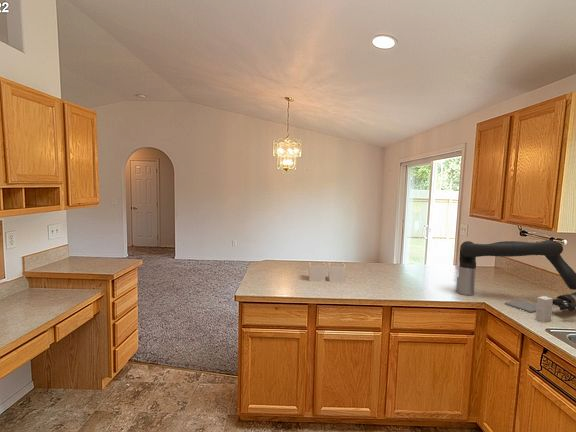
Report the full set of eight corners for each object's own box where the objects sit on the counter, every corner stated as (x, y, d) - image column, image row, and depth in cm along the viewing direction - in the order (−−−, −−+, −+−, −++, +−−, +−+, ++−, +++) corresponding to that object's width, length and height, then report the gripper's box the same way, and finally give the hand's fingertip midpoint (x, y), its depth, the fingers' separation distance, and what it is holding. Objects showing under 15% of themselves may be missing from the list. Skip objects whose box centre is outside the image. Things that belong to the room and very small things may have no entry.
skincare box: (541, 317, 171) (544, 295, 170) (550, 320, 167) (553, 298, 166) (534, 319, 169) (536, 297, 168) (543, 322, 165) (546, 299, 164)
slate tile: (504, 304, 190) (504, 302, 189) (519, 301, 195) (519, 299, 195) (530, 313, 177) (530, 311, 177) (545, 309, 183) (545, 307, 183)
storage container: (309, 281, 227) (309, 265, 226) (308, 276, 238) (309, 262, 237) (345, 282, 226) (346, 266, 225) (343, 277, 237) (343, 263, 236)
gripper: (553, 290, 183) (536, 294, 176) (585, 299, 170) (568, 303, 163) (552, 303, 184) (535, 307, 177) (583, 312, 171) (566, 317, 164)
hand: (551, 305), depth 170 cm, fingers open, 8 cm apart
